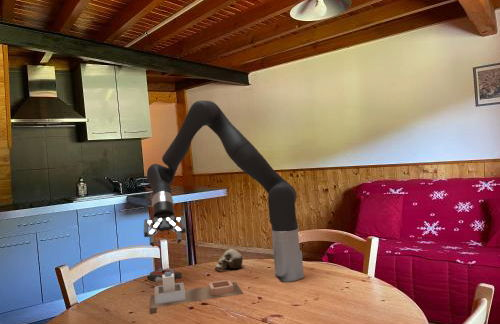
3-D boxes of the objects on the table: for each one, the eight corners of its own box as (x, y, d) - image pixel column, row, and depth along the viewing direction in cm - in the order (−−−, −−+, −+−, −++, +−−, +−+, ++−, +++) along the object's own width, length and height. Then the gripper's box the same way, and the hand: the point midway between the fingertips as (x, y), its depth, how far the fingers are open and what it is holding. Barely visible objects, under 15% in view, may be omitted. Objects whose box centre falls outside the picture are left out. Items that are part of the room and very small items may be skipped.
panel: (236, 286, 128) (236, 282, 128) (243, 298, 117) (243, 293, 117) (151, 299, 122) (150, 294, 122) (150, 313, 110) (149, 308, 110)
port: (183, 291, 123) (183, 281, 123) (185, 300, 114) (184, 290, 114) (155, 295, 121) (154, 285, 121) (155, 305, 112) (154, 294, 112)
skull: (209, 271, 146) (214, 247, 153) (218, 282, 153) (222, 259, 160) (238, 270, 143) (242, 246, 149) (246, 282, 150) (249, 258, 157)
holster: (230, 285, 125) (229, 279, 125) (234, 292, 118) (233, 285, 118) (209, 288, 124) (208, 282, 124) (211, 295, 117) (211, 289, 117)
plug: (175, 295, 120) (173, 270, 120) (175, 299, 116) (173, 273, 116) (163, 297, 119) (162, 271, 119) (164, 301, 115) (162, 274, 115)
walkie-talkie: (142, 282, 142) (179, 290, 130) (141, 270, 142) (178, 277, 130) (160, 275, 150) (197, 282, 138) (160, 264, 149) (196, 270, 138)
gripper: (142, 202, 135) (143, 240, 124) (182, 198, 138) (187, 234, 127) (143, 215, 140) (145, 252, 129) (182, 211, 144) (187, 247, 132)
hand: (166, 243), depth 128 cm, fingers open, 8 cm apart
